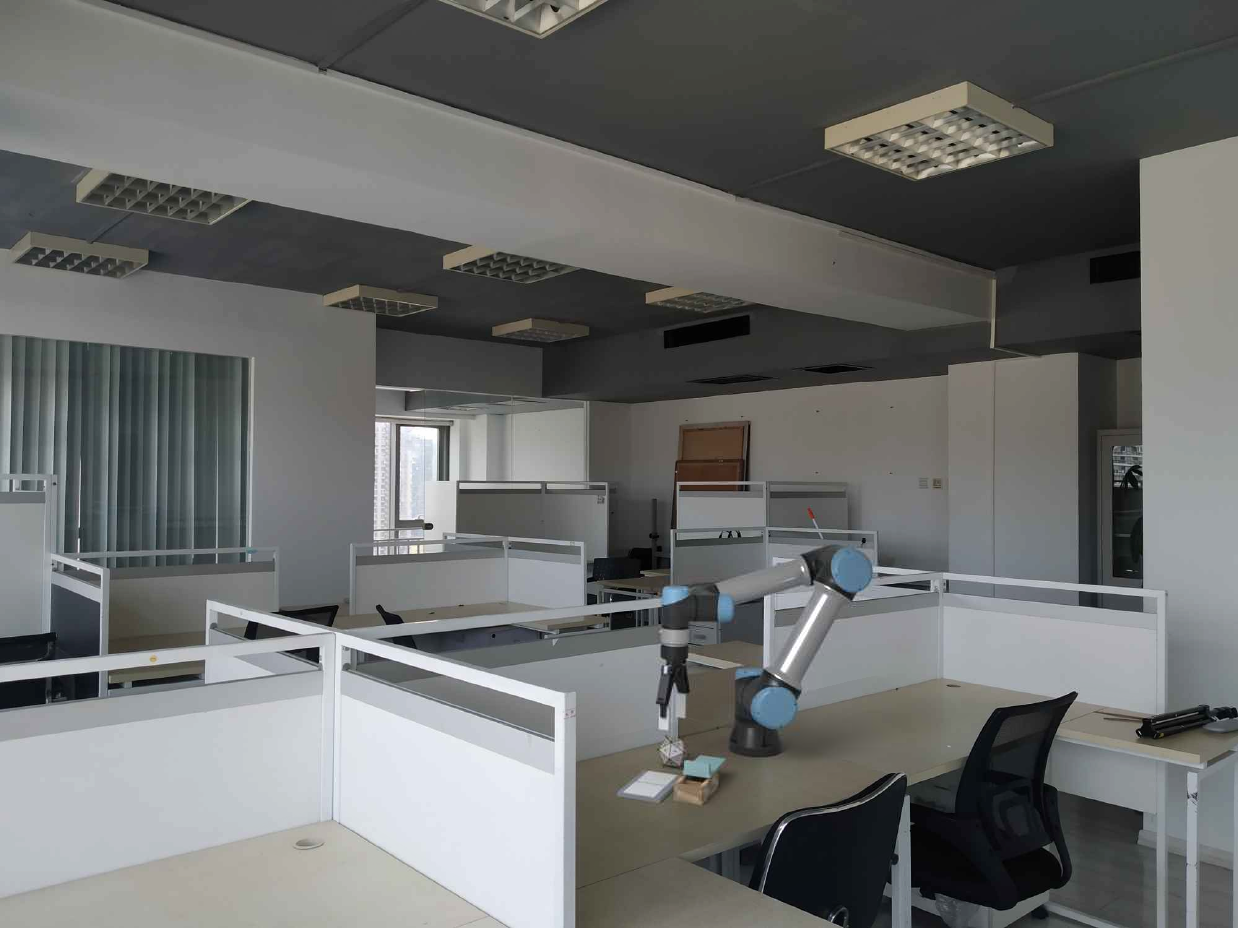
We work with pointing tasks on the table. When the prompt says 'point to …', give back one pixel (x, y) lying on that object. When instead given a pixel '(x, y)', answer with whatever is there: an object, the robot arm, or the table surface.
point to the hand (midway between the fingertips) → (672, 723)
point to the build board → (649, 786)
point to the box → (695, 788)
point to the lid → (703, 766)
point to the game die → (673, 752)
